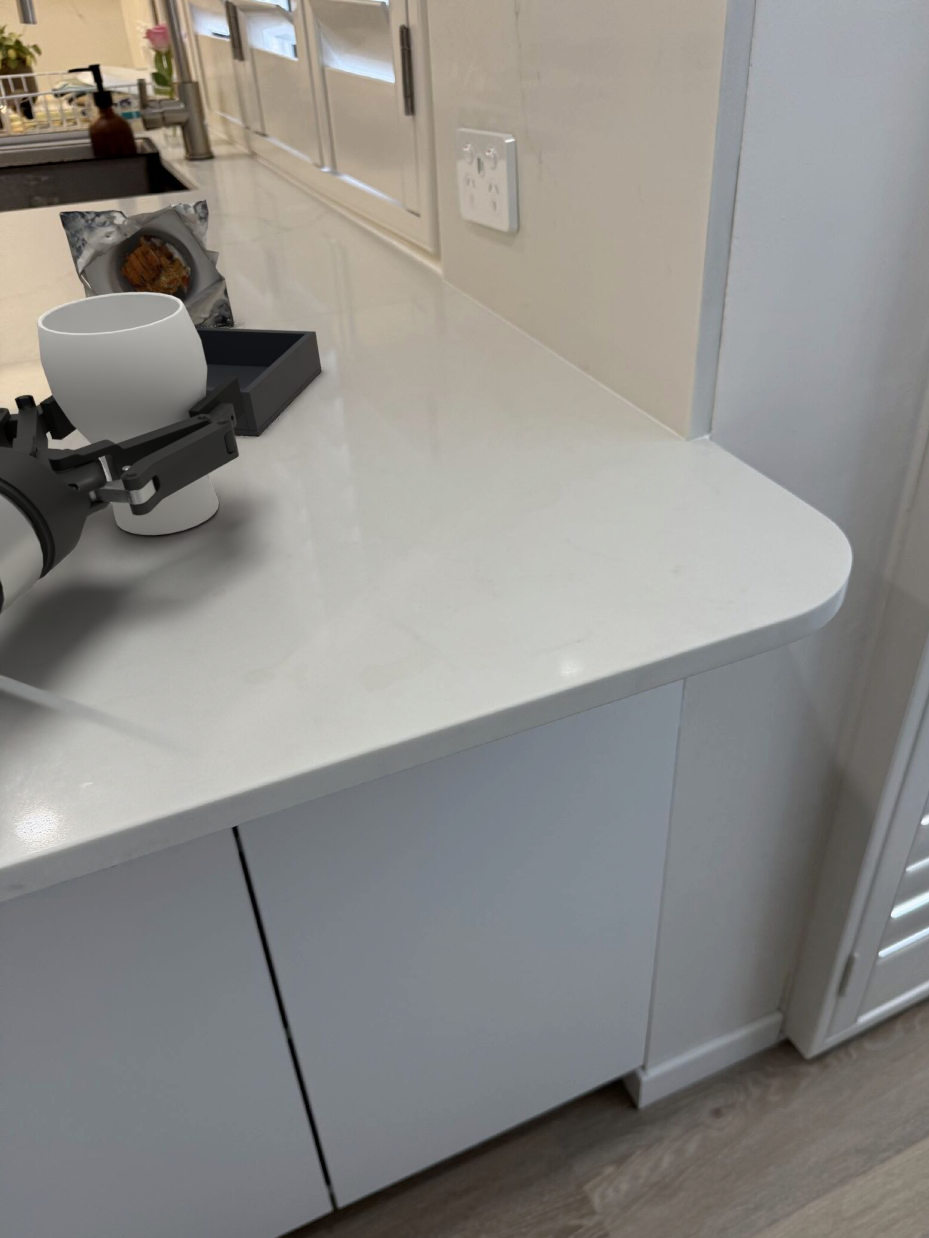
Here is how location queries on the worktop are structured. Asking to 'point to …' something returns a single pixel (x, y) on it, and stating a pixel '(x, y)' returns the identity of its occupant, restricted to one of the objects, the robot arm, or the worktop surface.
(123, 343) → the cup
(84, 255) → the meal
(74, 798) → the worktop surface
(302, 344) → the tray
